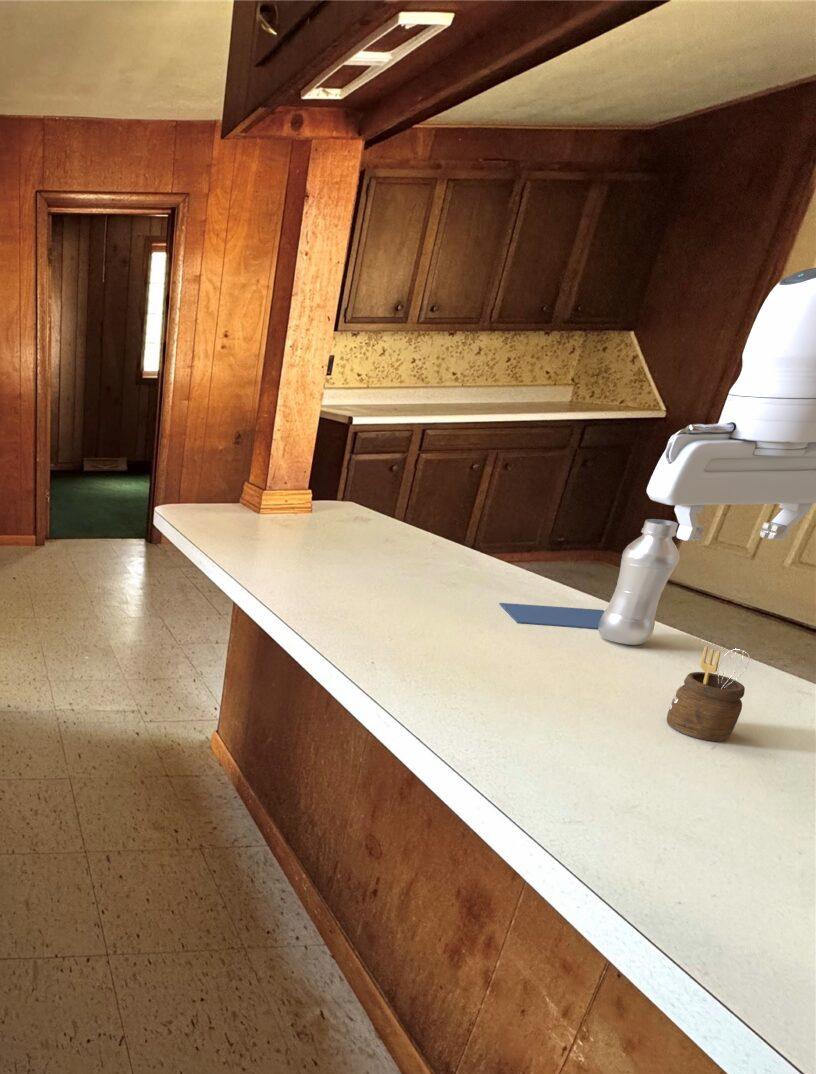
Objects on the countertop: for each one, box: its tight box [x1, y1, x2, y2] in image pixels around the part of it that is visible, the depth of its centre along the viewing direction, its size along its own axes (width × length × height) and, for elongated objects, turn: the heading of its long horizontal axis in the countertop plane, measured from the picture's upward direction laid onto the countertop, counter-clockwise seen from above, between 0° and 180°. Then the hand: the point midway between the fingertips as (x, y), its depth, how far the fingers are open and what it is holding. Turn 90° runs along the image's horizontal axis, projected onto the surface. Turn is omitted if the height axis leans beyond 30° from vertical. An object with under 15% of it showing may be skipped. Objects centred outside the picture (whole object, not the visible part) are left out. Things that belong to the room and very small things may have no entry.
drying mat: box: [498, 602, 605, 630], centre depth 117 cm, size 16×9×1 cm, turn 73°
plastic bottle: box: [597, 518, 681, 646], centre depth 104 cm, size 6×7×20 cm
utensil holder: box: [666, 646, 751, 742], centre depth 82 cm, size 6×6×12 cm
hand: (729, 539), depth 80 cm, fingers open, 8 cm apart
